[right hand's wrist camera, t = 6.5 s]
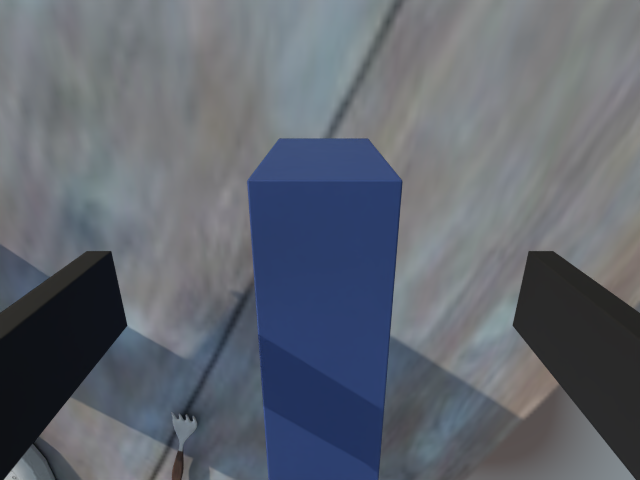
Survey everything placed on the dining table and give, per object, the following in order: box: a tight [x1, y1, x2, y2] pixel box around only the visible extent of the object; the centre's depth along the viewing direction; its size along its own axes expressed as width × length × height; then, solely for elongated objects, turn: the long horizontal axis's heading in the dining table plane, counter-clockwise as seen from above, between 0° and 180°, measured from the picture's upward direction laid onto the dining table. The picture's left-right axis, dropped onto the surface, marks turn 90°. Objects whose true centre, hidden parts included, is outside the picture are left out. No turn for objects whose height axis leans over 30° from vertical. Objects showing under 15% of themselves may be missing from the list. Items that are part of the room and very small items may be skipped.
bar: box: [247, 139, 402, 480], centre depth 21 cm, size 30×5×9 cm, turn 0°
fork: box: [171, 412, 197, 480], centre depth 42 cm, size 3×16×2 cm, turn 167°
